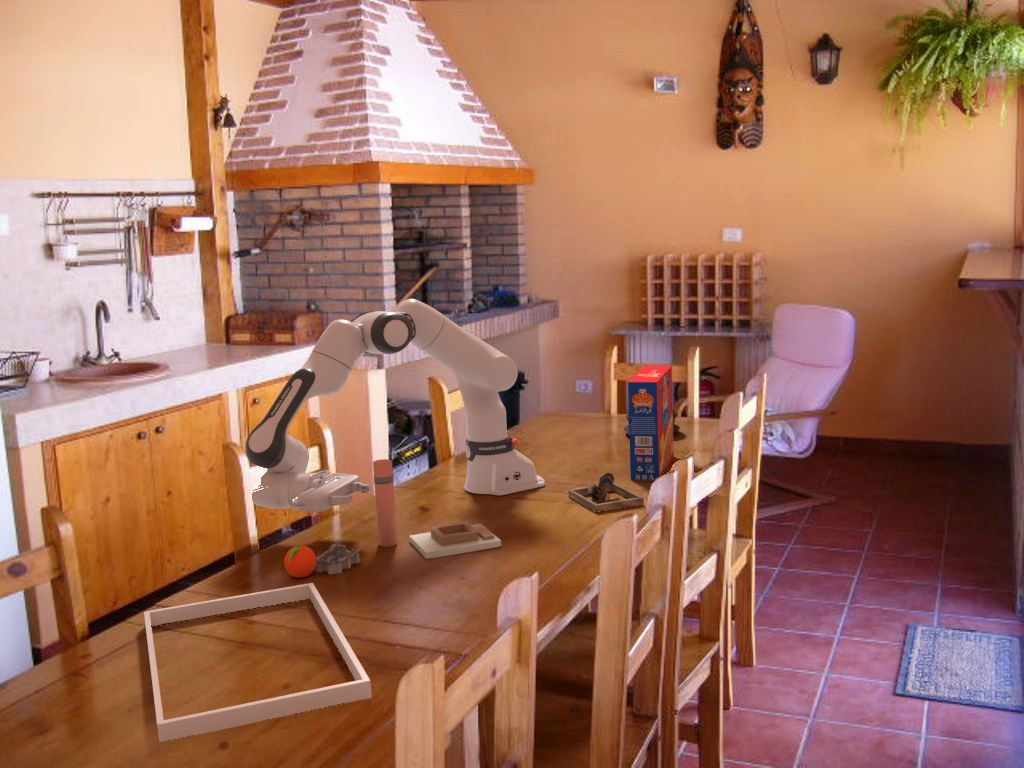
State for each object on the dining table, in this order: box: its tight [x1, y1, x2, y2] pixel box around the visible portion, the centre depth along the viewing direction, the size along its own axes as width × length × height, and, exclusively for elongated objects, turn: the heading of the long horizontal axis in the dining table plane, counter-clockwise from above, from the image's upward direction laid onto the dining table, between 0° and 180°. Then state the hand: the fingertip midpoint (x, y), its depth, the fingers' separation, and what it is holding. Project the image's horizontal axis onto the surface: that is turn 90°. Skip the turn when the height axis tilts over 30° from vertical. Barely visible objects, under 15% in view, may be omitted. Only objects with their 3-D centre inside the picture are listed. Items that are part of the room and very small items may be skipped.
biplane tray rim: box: [143, 582, 373, 743], centre depth 189 cm, size 33×50×3 cm, turn 21°
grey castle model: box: [314, 541, 363, 575], centre depth 236 cm, size 11×8×4 cm
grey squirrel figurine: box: [587, 472, 615, 503], centre depth 278 cm, size 8×7×9 cm
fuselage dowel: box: [372, 458, 398, 548], centre depth 248 cm, size 4×4×20 cm
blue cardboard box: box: [627, 365, 675, 482], centre depth 305 cm, size 28×8×28 cm, turn 163°
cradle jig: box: [408, 521, 502, 560], centre depth 247 cm, size 18×14×4 cm
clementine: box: [283, 544, 317, 579], centre depth 229 cm, size 8×7×7 cm
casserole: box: [623, 408, 681, 436], centre depth 350 cm, size 25×19×8 cm
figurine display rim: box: [567, 482, 645, 513], centre depth 276 cm, size 14×17×2 cm
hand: (360, 494), depth 250 cm, fingers open, 8 cm apart
